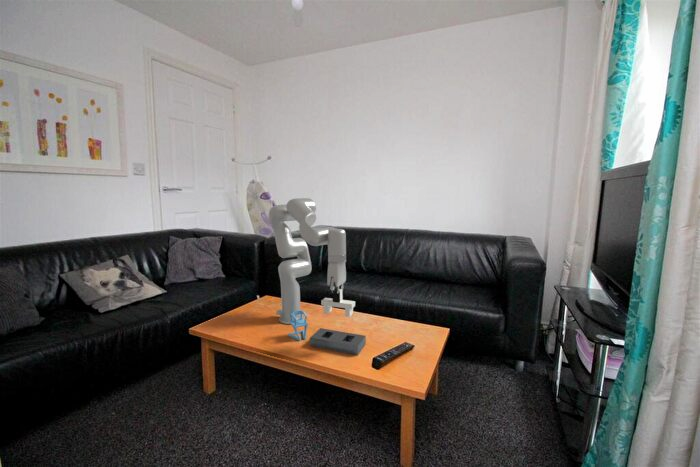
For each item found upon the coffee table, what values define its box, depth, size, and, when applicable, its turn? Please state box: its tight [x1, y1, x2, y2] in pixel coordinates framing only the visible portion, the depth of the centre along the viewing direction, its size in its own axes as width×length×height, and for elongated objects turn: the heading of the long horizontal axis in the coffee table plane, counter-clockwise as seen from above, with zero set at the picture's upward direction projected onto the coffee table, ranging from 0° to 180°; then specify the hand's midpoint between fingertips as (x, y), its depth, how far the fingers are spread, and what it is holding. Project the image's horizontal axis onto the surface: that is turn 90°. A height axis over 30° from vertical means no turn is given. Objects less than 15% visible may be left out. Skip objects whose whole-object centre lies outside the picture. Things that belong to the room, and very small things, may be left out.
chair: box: [287, 310, 309, 342], centre depth 147 cm, size 8×8×12 cm
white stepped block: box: [320, 287, 356, 318], centre depth 136 cm, size 14×4×10 cm, turn 69°
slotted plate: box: [309, 328, 367, 356], centre depth 139 cm, size 22×10×4 cm, turn 69°
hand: (337, 300), depth 136 cm, fingers closed on white stepped block, 2 cm apart
